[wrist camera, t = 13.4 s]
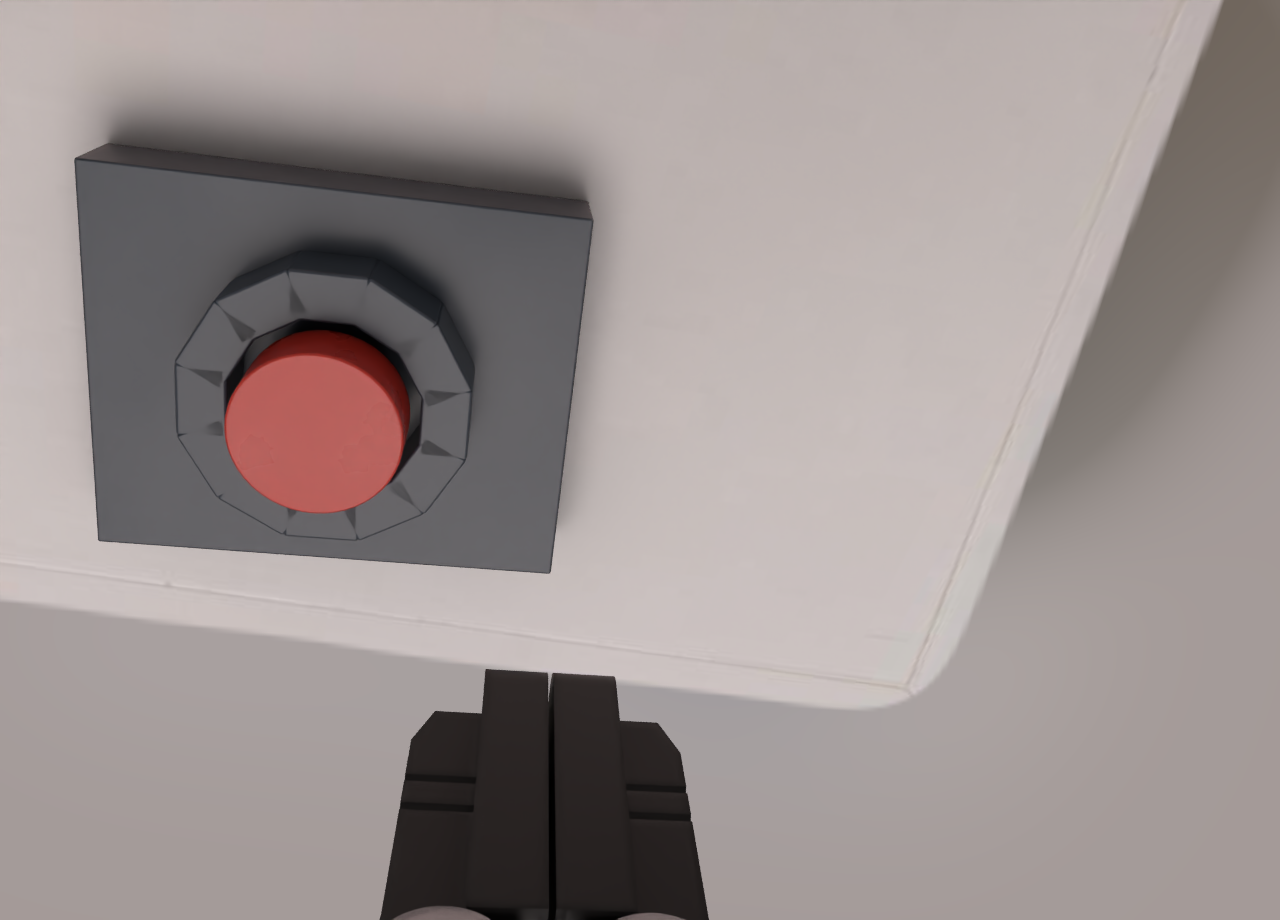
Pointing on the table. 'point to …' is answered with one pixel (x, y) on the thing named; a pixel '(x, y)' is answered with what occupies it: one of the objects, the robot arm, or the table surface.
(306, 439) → the button
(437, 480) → the button box
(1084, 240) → the table surface
